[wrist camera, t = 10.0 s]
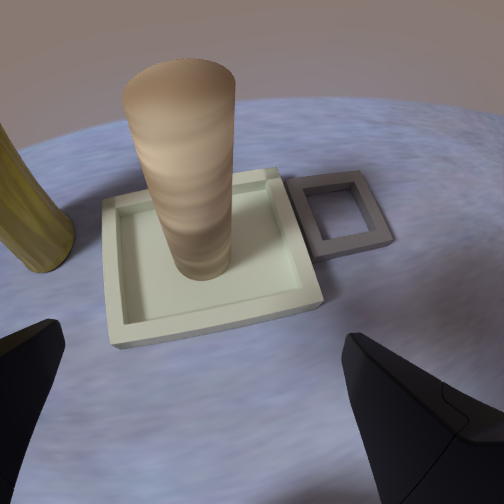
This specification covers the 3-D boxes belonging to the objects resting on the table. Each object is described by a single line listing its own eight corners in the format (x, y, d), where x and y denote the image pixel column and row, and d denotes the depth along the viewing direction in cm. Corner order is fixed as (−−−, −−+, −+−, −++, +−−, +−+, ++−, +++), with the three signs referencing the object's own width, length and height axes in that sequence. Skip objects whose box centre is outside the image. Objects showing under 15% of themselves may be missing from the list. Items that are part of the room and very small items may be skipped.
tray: (316, 309, 24) (323, 300, 22) (120, 349, 21) (110, 344, 19) (273, 182, 29) (276, 167, 27) (109, 213, 26) (102, 199, 24)
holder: (387, 245, 27) (393, 239, 25) (310, 263, 25) (313, 257, 24) (355, 178, 30) (359, 170, 29) (283, 187, 28) (285, 179, 27)
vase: (63, 202, 26) (-4, 89, 14) (84, 249, 25) (-1, 130, 12) (16, 237, 25) (-67, 141, 12) (32, 286, 23) (-75, 195, 10)
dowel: (242, 262, 24) (258, 95, 11) (191, 291, 23) (143, 139, 9) (212, 219, 26) (203, 49, 12) (164, 245, 24) (109, 82, 11)
